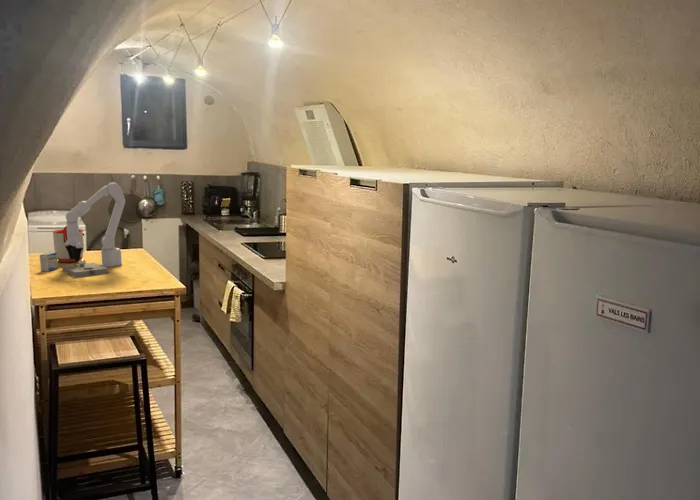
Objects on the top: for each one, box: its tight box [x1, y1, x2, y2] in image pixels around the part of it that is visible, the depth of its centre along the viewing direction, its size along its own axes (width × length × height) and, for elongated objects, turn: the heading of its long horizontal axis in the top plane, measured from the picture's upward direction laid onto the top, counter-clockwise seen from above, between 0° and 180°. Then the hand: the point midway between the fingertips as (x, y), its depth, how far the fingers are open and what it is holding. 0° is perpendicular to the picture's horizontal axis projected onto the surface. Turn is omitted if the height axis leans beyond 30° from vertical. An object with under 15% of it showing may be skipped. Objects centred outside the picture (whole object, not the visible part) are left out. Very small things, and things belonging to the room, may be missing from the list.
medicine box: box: [39, 251, 59, 272], centre depth 337 cm, size 8×4×9 cm, turn 168°
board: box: [61, 262, 109, 278], centre depth 331 cm, size 16×20×2 cm
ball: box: [77, 258, 86, 266], centre depth 334 cm, size 4×4×4 cm
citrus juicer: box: [52, 225, 85, 264], centre depth 360 cm, size 16×17×20 cm
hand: (74, 259), depth 342 cm, fingers open, 7 cm apart
